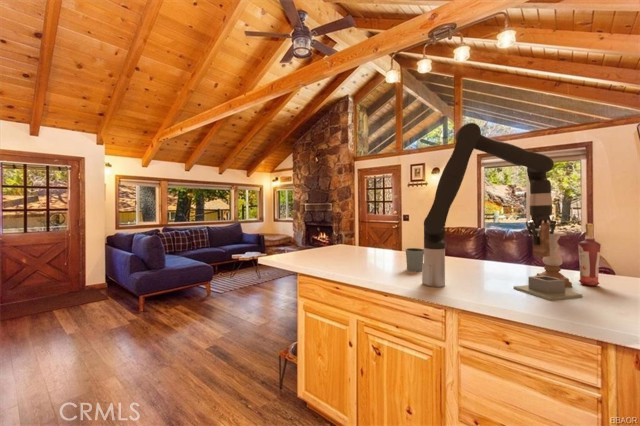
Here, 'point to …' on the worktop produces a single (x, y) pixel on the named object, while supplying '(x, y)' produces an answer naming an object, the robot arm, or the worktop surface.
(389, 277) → the worktop surface
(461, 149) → the robot arm
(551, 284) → the box on flat tray
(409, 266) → the grey-green tapered pot
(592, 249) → the liquor
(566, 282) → the candle holder
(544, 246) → the wooden peg
